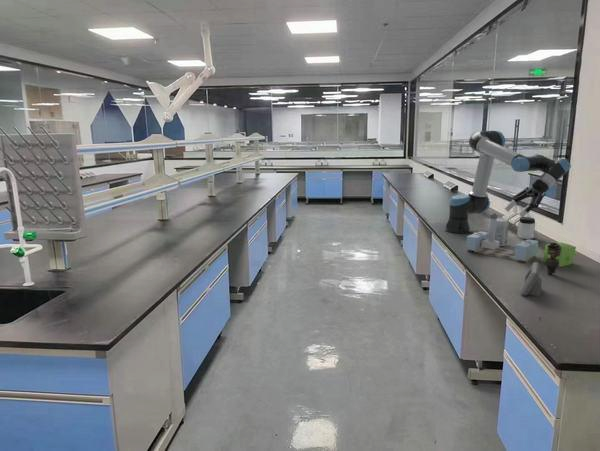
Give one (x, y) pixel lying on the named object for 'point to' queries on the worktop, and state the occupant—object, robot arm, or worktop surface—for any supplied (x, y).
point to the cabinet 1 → (475, 240)
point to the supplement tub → (501, 231)
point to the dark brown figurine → (553, 257)
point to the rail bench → (500, 253)
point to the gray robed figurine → (532, 281)
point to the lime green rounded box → (563, 254)
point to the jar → (526, 228)
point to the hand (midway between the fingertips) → (513, 212)
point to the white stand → (491, 234)
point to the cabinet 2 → (526, 249)
